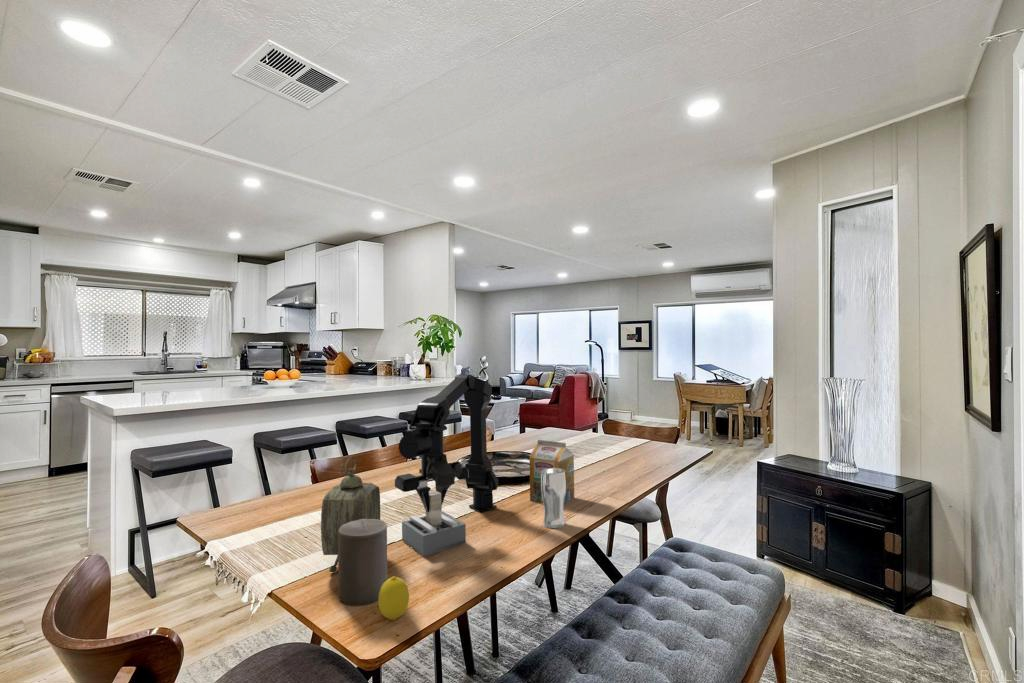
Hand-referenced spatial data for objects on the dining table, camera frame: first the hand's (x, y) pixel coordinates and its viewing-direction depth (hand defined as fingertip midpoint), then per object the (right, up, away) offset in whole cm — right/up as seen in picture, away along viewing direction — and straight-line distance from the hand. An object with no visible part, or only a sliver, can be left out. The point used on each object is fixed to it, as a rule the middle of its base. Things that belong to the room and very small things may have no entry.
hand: (433, 510), depth 121 cm
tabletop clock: (-17, -9, -11) cm, 22 cm away
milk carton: (+34, -8, +32) cm, 47 cm away
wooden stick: (0, -4, 0) cm, 4 cm away
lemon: (-2, -8, -34) cm, 35 cm away
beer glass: (+32, -8, +11) cm, 35 cm away
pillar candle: (-10, -9, -24) cm, 28 cm away
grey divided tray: (0, -8, 0) cm, 8 cm away
